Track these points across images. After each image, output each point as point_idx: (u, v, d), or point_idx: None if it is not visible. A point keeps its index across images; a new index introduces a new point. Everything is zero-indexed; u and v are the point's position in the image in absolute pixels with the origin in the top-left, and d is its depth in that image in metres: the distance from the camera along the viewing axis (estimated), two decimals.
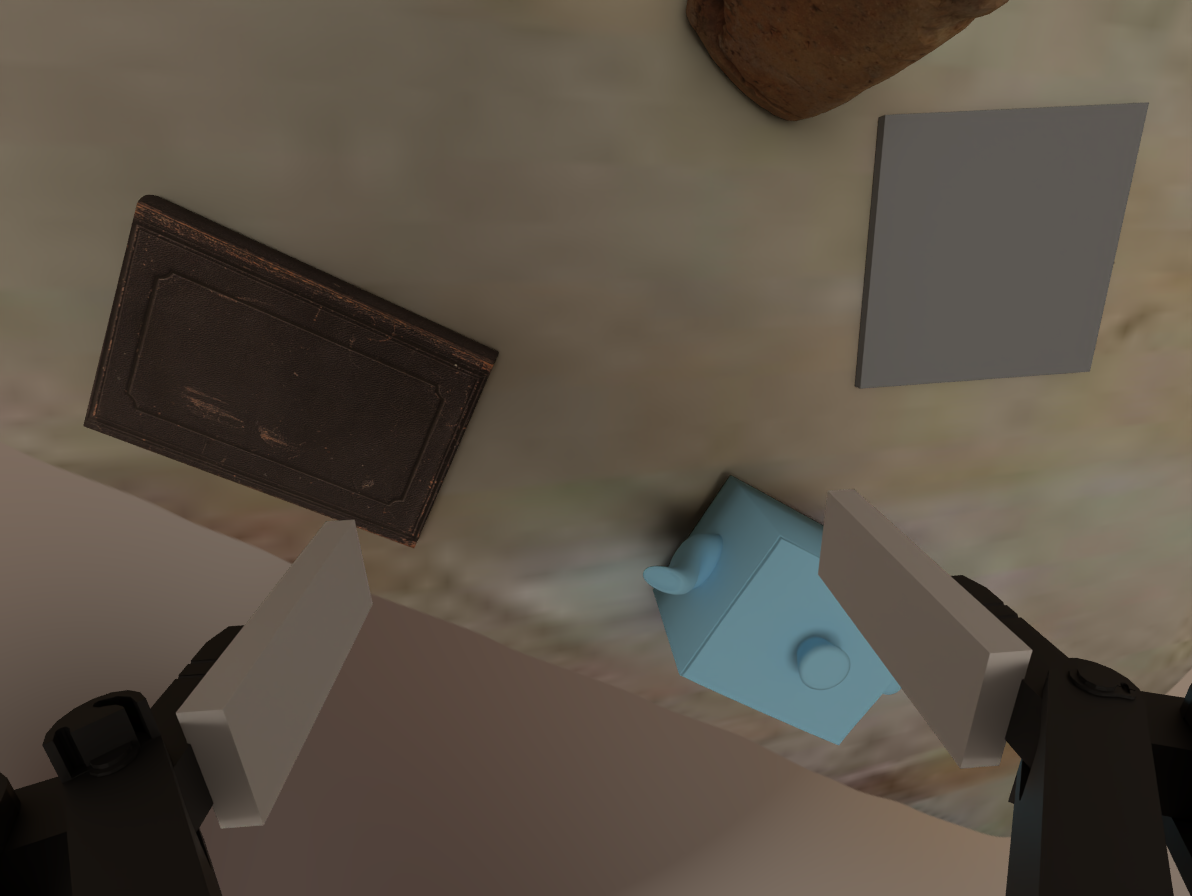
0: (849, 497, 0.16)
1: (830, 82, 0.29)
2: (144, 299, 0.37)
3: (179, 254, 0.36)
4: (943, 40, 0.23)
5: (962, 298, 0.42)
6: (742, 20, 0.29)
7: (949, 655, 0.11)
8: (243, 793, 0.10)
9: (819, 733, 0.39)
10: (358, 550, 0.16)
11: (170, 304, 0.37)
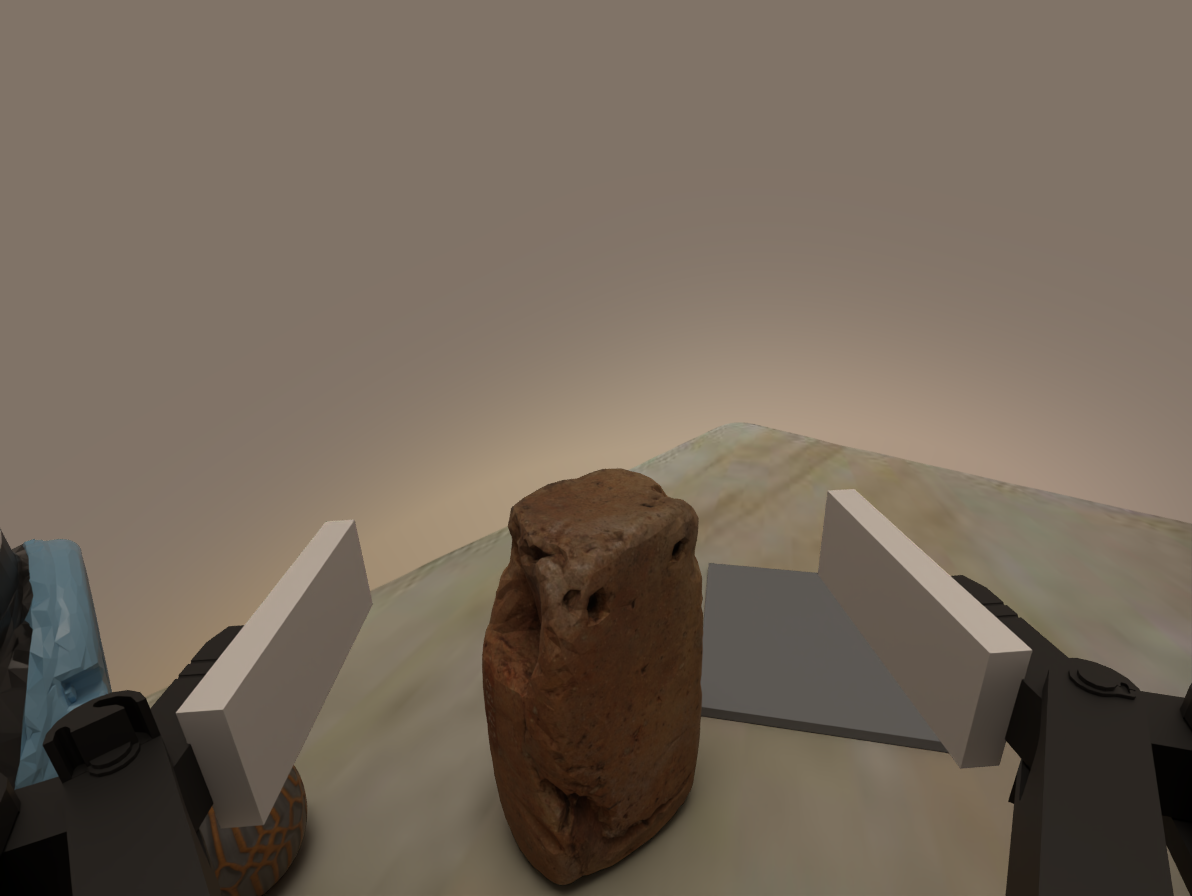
0: (849, 497, 0.16)
1: (690, 695, 0.30)
2: None
3: None
4: (699, 569, 0.29)
5: (864, 658, 0.43)
6: (614, 773, 0.27)
7: (949, 655, 0.11)
8: (243, 793, 0.10)
9: None
10: (358, 550, 0.16)
11: None
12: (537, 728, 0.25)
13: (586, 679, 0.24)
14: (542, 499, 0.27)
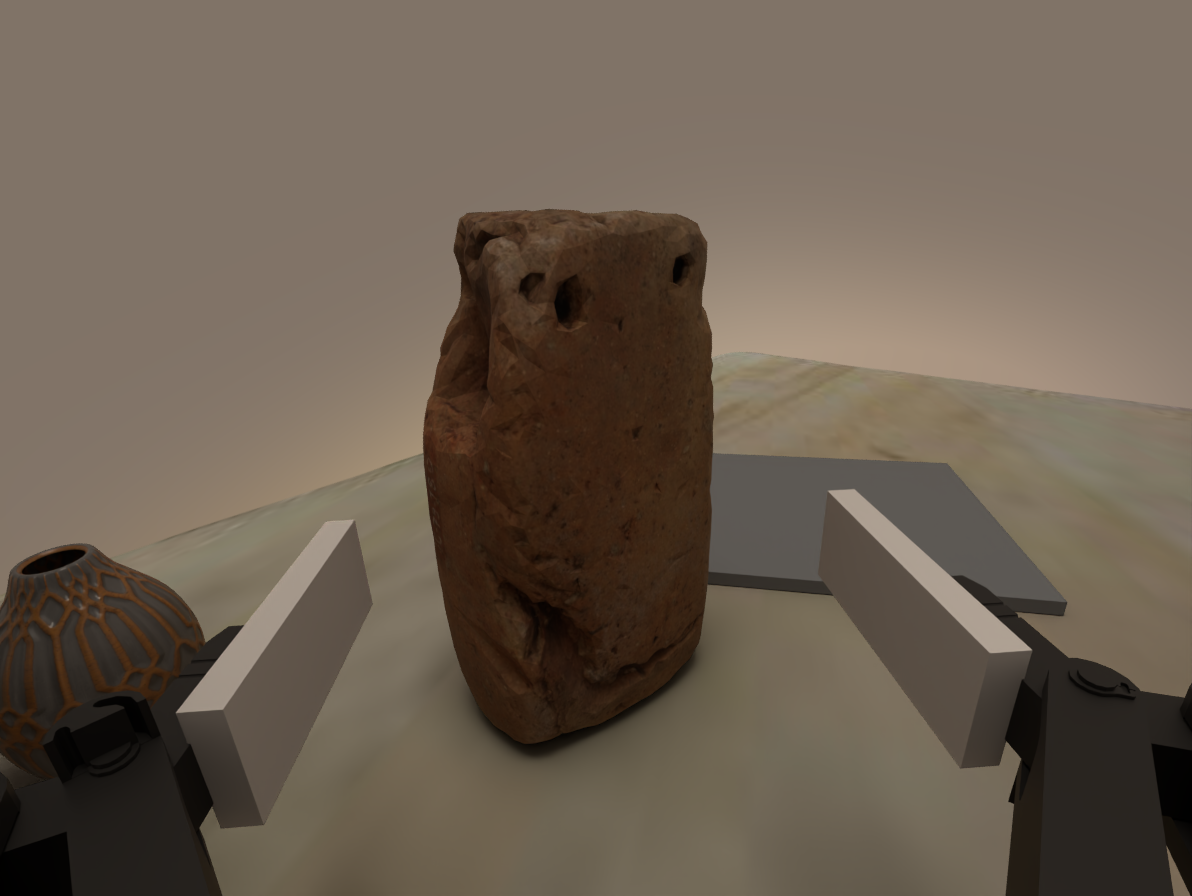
0: (849, 497, 0.16)
1: (696, 498, 0.23)
2: None
3: None
4: (708, 323, 0.22)
5: (899, 526, 0.37)
6: (597, 578, 0.20)
7: (949, 655, 0.11)
8: (243, 793, 0.10)
9: None
10: (358, 550, 0.16)
11: None
12: (490, 497, 0.19)
13: (555, 414, 0.17)
14: None
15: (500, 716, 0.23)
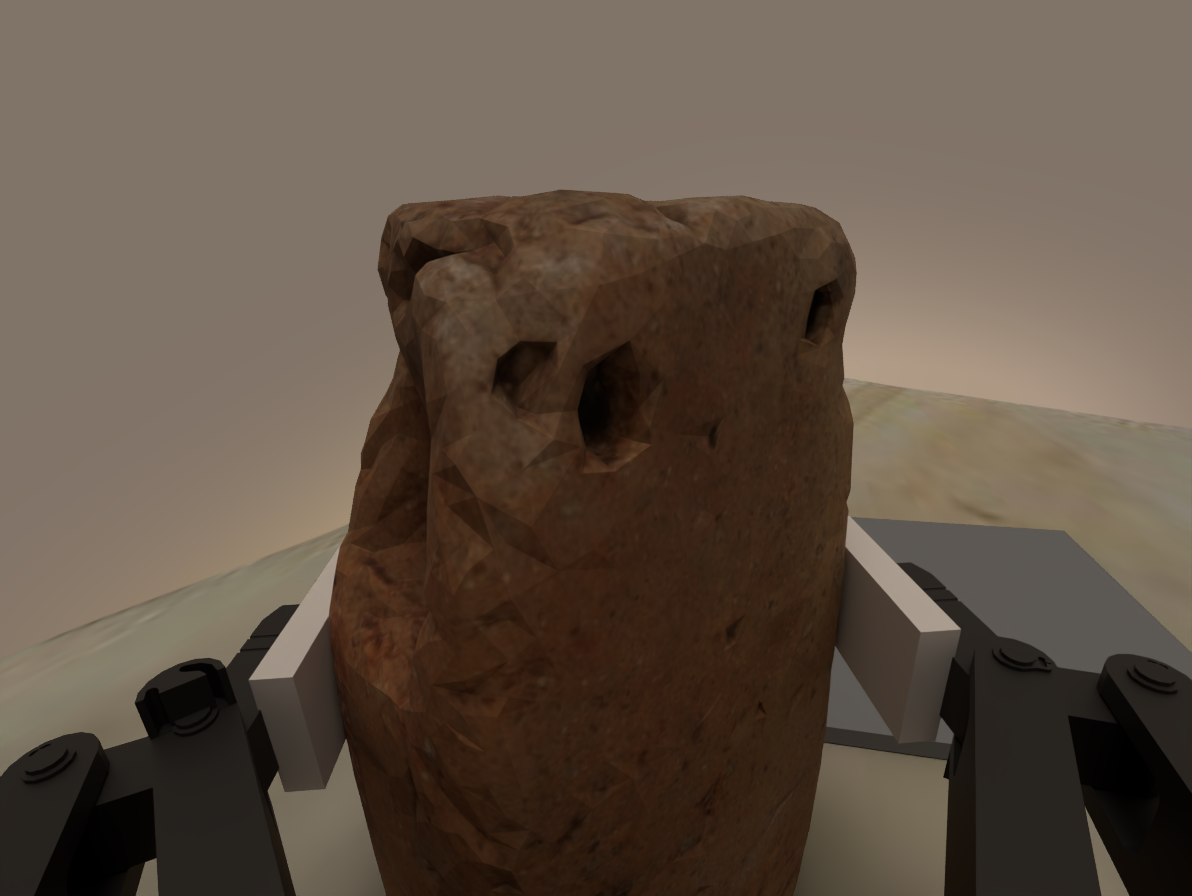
0: None
1: (816, 698, 0.13)
2: None
3: None
4: None
5: (1035, 638, 0.27)
6: None
7: (888, 636, 0.12)
8: (307, 758, 0.11)
9: None
10: None
11: None
12: (440, 797, 0.09)
13: (579, 651, 0.08)
14: None
15: None
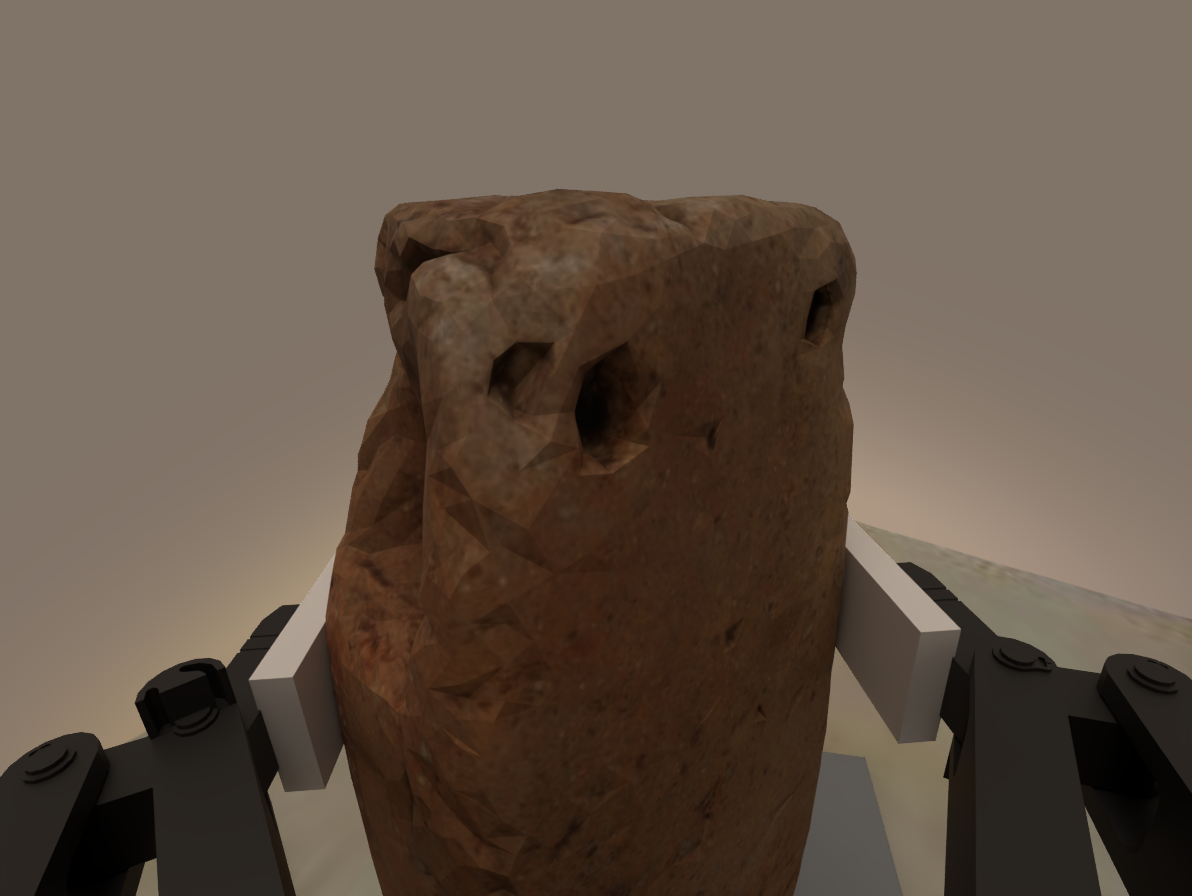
0: None
1: (816, 701, 0.13)
2: None
3: None
4: None
5: None
6: None
7: (888, 636, 0.12)
8: (307, 758, 0.11)
9: None
10: None
11: None
12: (437, 801, 0.09)
13: (577, 654, 0.08)
14: None
15: None
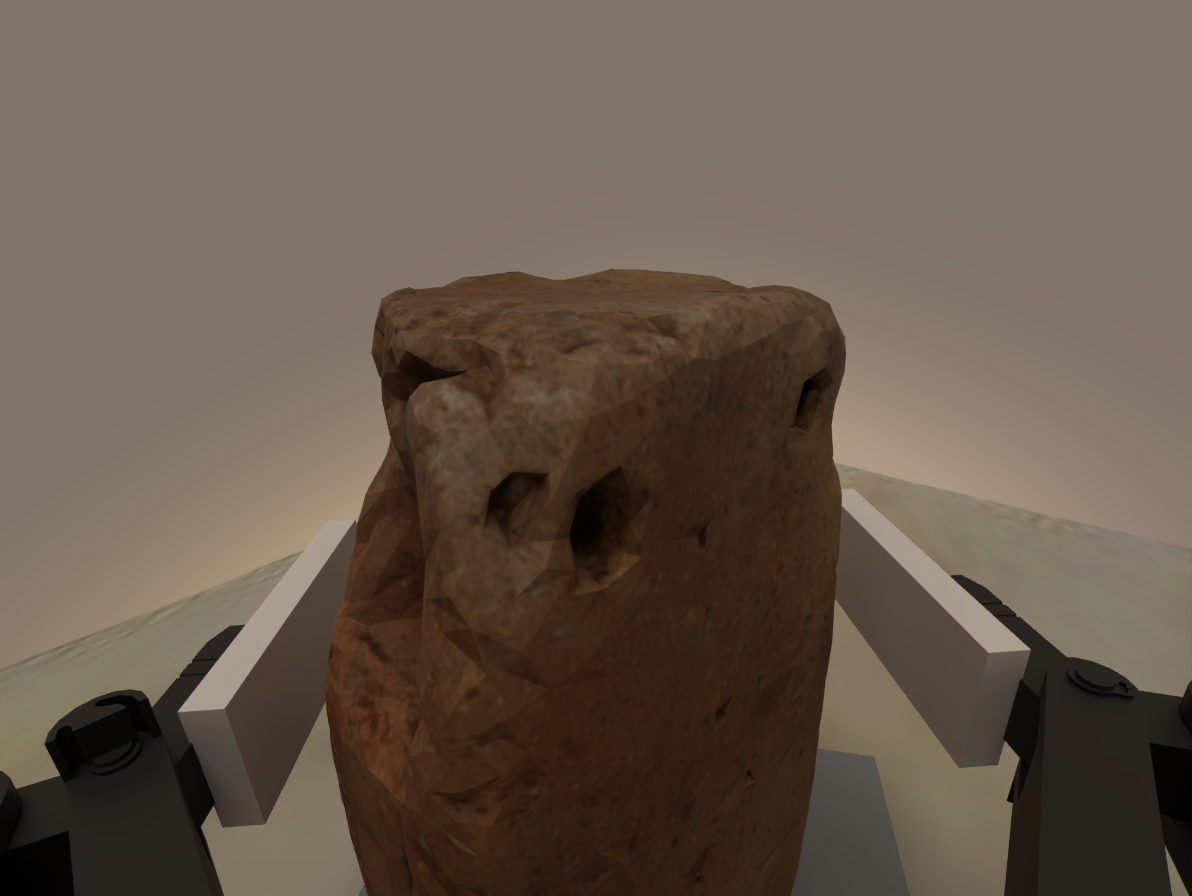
0: (848, 497, 0.16)
1: (804, 756, 0.14)
2: None
3: None
4: None
5: None
6: None
7: (948, 654, 0.11)
8: (244, 792, 0.10)
9: None
10: None
11: None
12: (436, 887, 0.09)
13: (571, 759, 0.08)
14: (460, 289, 0.11)
15: None
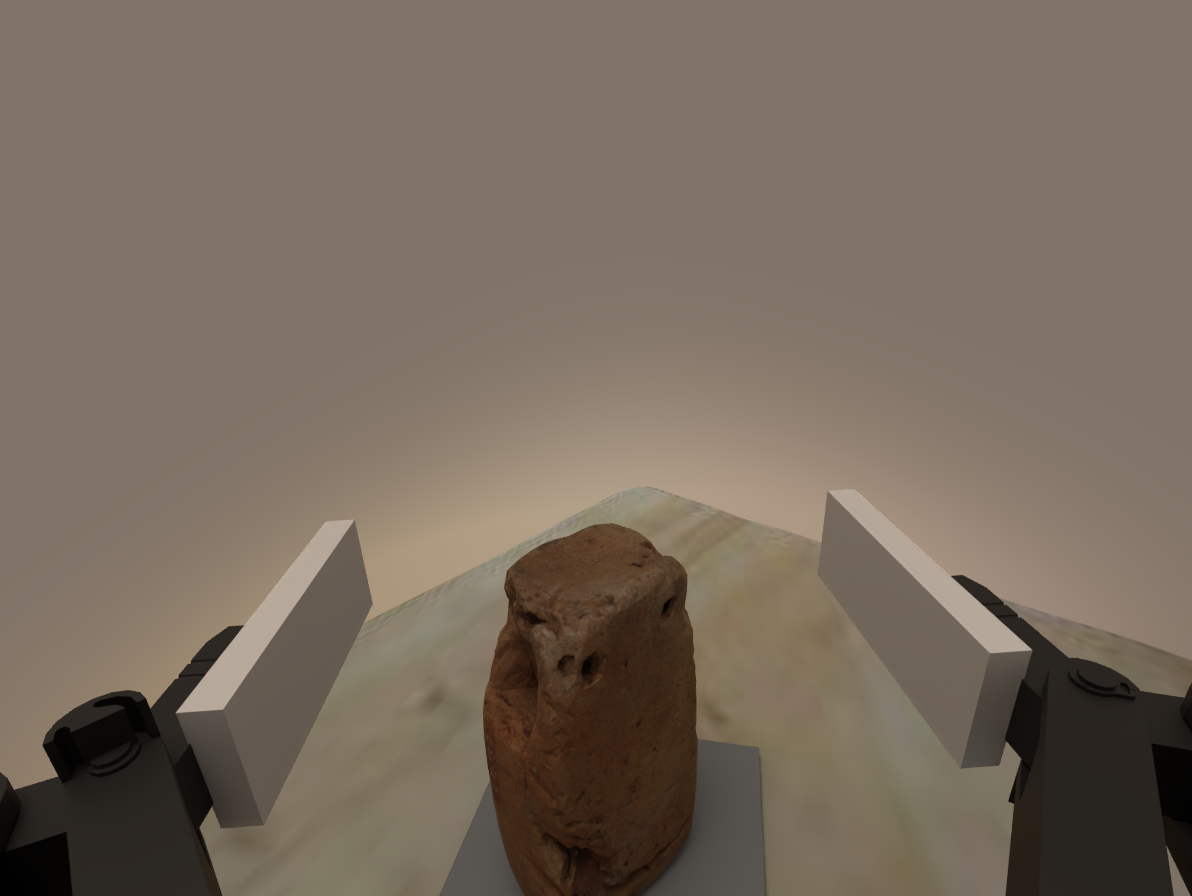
0: (849, 497, 0.16)
1: (685, 742, 0.31)
2: None
3: None
4: None
5: None
6: (613, 824, 0.28)
7: (949, 655, 0.11)
8: (243, 793, 0.10)
9: None
10: (358, 550, 0.16)
11: None
12: (537, 785, 0.26)
13: (582, 739, 0.25)
14: (536, 561, 0.29)
15: None
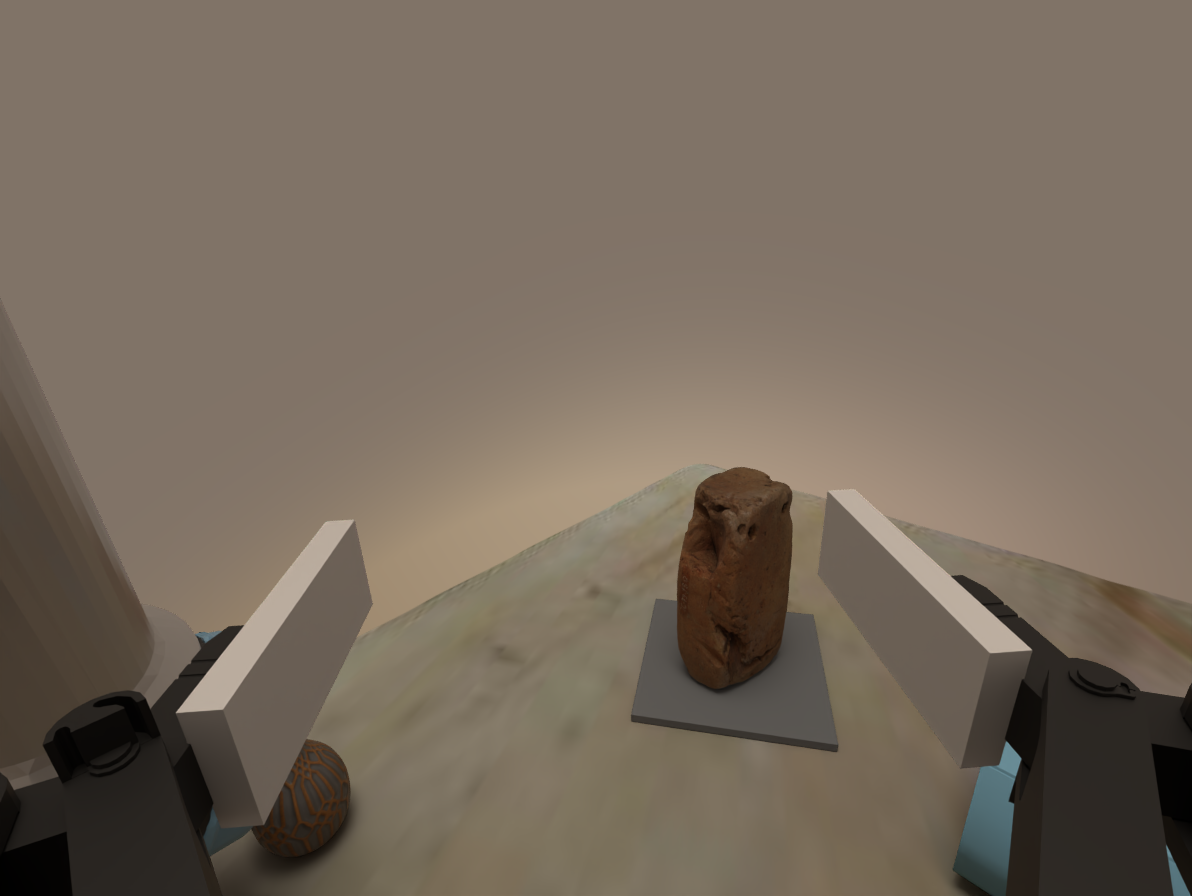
0: (849, 497, 0.16)
1: (784, 587, 0.56)
2: None
3: None
4: None
5: (761, 677, 0.58)
6: (751, 622, 0.53)
7: (949, 655, 0.11)
8: (243, 793, 0.10)
9: None
10: (358, 550, 0.16)
11: None
12: (718, 595, 0.52)
13: (745, 568, 0.50)
14: (713, 483, 0.54)
15: (706, 677, 0.55)
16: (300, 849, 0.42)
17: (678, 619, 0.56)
